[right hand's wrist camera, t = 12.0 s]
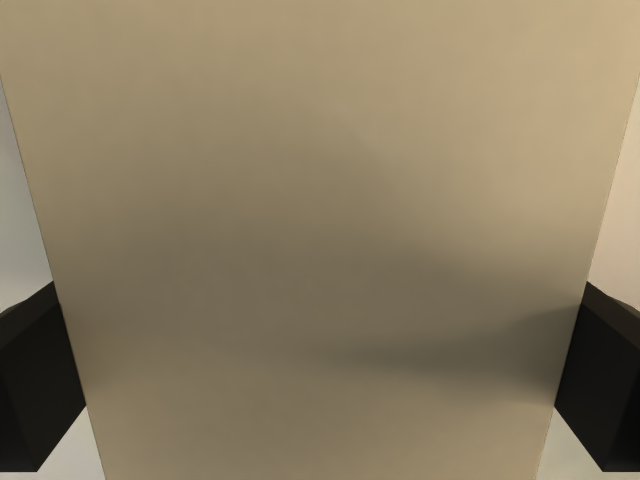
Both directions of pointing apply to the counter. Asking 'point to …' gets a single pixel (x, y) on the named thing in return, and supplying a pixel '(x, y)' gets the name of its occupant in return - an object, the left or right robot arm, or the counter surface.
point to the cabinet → (320, 223)
